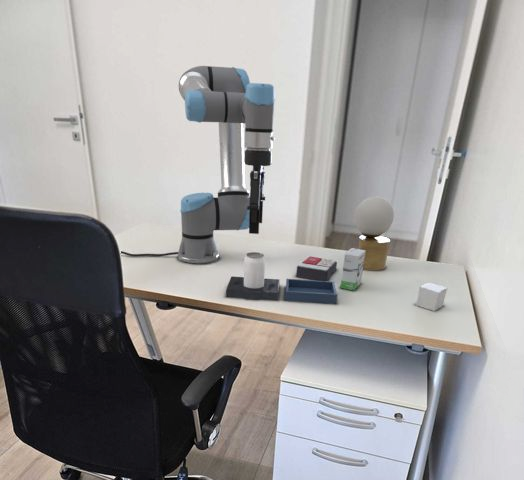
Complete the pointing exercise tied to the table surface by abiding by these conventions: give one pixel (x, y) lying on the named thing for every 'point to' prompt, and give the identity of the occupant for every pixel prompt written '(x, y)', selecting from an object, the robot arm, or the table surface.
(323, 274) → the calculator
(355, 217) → the lamp
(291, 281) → the blue tray
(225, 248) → the table surface
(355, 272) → the ink box
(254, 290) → the plate
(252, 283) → the can
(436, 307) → the white cube
